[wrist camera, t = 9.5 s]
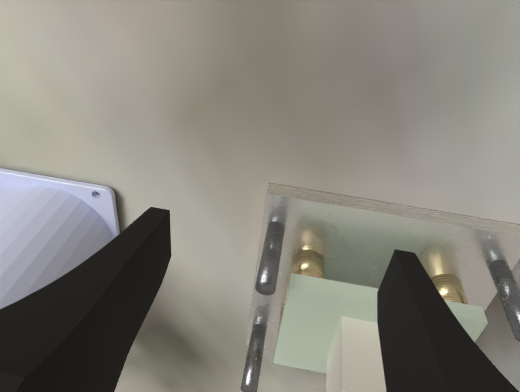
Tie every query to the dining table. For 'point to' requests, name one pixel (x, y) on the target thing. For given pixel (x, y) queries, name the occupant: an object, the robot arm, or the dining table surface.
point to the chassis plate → (373, 255)
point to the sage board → (324, 314)
